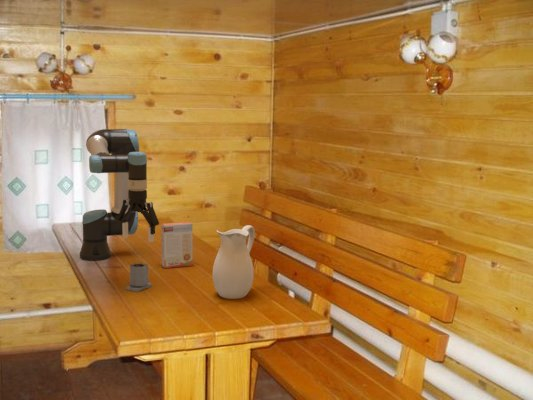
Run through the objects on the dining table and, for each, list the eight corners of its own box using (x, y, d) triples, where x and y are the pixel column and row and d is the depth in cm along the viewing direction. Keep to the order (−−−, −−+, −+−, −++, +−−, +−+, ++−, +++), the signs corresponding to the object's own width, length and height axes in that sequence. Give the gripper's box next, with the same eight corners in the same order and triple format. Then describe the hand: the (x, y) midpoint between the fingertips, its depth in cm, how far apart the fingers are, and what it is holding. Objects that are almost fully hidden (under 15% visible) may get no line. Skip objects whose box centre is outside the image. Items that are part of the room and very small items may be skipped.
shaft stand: (125, 289, 267) (125, 271, 266) (140, 283, 276) (140, 265, 275) (136, 291, 264) (136, 273, 263) (152, 285, 273) (151, 267, 272)
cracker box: (189, 263, 311) (189, 221, 308) (192, 266, 306) (193, 223, 302) (161, 265, 306) (160, 222, 302) (164, 268, 300) (163, 225, 297)
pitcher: (238, 304, 252) (239, 235, 247) (203, 296, 261) (204, 229, 256) (269, 289, 272) (271, 225, 267) (237, 282, 281) (238, 220, 276)
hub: (126, 284, 268) (126, 266, 267) (137, 280, 275) (137, 262, 274) (140, 287, 265) (140, 268, 264) (151, 283, 271) (151, 264, 270)
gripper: (108, 187, 266) (109, 237, 270) (156, 193, 255) (156, 245, 258) (120, 185, 273) (120, 234, 276) (167, 191, 261) (167, 241, 265)
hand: (138, 239), depth 267 cm, fingers open, 13 cm apart
